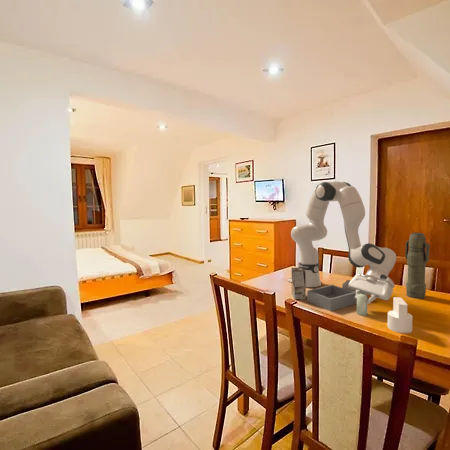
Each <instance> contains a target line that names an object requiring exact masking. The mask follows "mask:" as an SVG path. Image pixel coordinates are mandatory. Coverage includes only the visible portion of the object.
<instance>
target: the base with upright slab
mask: <svg viewBox="0 0 450 450" xmlns="http://www.w3.org/2000/svg"><path fill="white" fill-rule="evenodd" d="M392 300H393V302H392V304H393V305H392V310H388V311H387V322H386V323H387V328H388V329H389V330H390V331H392V332H396V333H400V334H411V333H412V332H413V317H414V316H413V315H412V314H411V313H409V312H408V304H407V302H406V301H405V300H404V299H403V298H402V297H398V296H396V297H395V296H394V297H393V299H392Z"/></svg>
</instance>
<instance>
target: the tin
mask: <svg viewBox="0 0 450 450" xmlns="http://www.w3.org/2000/svg"><path fill="white" fill-rule="evenodd" d="M368 296H369V295H368V294H367V295H365V294H357V300H356V314H357V315H358V316H363V317H364V316H365V317H366V316H368V303H366V299H367V298H368ZM368 299H369V298H368Z"/></svg>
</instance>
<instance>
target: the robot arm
mask: <svg viewBox="0 0 450 450" xmlns="http://www.w3.org/2000/svg"><path fill="white" fill-rule="evenodd" d="M330 202H338V204H339V208H340V210H341V214H342V218H343V226H344V232H345V233H344V234H345V236H346V243H347V247H348V255H347V257H348V261H349V263H350V264H351V265H352V266H353V267H355V268H364V267H365V266H368V267H369V268H368V269H367V271H366V273H365V274H363V273H357V274H355V275H354V276H353V277H352V279H351V280H350V283H349V287H350V288H351V289H352V290H355V291H356V296H355V299H357V294H360V293H364V294H367V296H370V297H369V298H367V299H366V303H367V304H368V305H369V304H372V302H373V301H374V300H377V298H378V299H382V300H384V301H388V300H390V298H391V297H392V294H393V292H394V288H395V286H396V285H395V283H394V281H393V280H392V279H391V278H390V276H389V274H390V272H391V271H392V270H393V269H394V266H395V264H396V261H397V254H396V252H395V251H394V250H392V249H391V248H388V247H379V246H377V245H375V244H374V243H365V244H362V243H361V240H360V235H359V228H360V226H361V223H362V222H363V220H364V219H365V216H366V208H365V205H364V203H363V199H362V197H361V195H360V194H359V192H358V190H357V188H356V187H355V186H352V185H351V183H349V182H346V181H338V180H337V181H336V180H335V181H334V180H333V181H323V182H321V183H318V184H317V185H316V187H315V189H314V191H313V193H312V195H311V197H310V200H309V202H308V205H307V208H306V212H305V216H306V218H307V219H308V221H309V222H308V224H300V225H296V226H294V227H292V229H291V231H290V237H291V239H292V240H293V241H294V242H295V243H296V244H297V246H298V248H299V252H300V254H299V255H300V258H299V259H300V262H298V267H297V268H299V267H300V268H301V267H302V268H303V269H304V270H305V275H306V288H319V287H321V286H322V281H321V277H320V270H319V269H320V263H319V250H318V249H317V248H316V247H315V246H314V245H313V242H314V241H315V242H316V241H317V242H318V241H320V240H323V239H325V238H326V237H327V235H328V229H327V226H326V225H325V217H326V213H327V210H328V207H329V205H330ZM290 274H291V275H290V278H287V281H288V282H289V281H290V282H289V283H291V282H292V273H290Z"/></svg>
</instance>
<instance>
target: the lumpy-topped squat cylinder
mask: <svg viewBox="0 0 450 450" xmlns="http://www.w3.org/2000/svg"><path fill="white" fill-rule="evenodd" d="M350 281H351V280H350V279H346V281H345V282H343V283H342V285H341V286H342V287H341V288H344V289H347V290H350V291H354V292H356V291H355V290H352V289H351V288H350V287H349V283H350ZM360 294H364V293H360ZM365 295H367V296H368V294H365ZM356 301H357V299H356Z"/></svg>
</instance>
